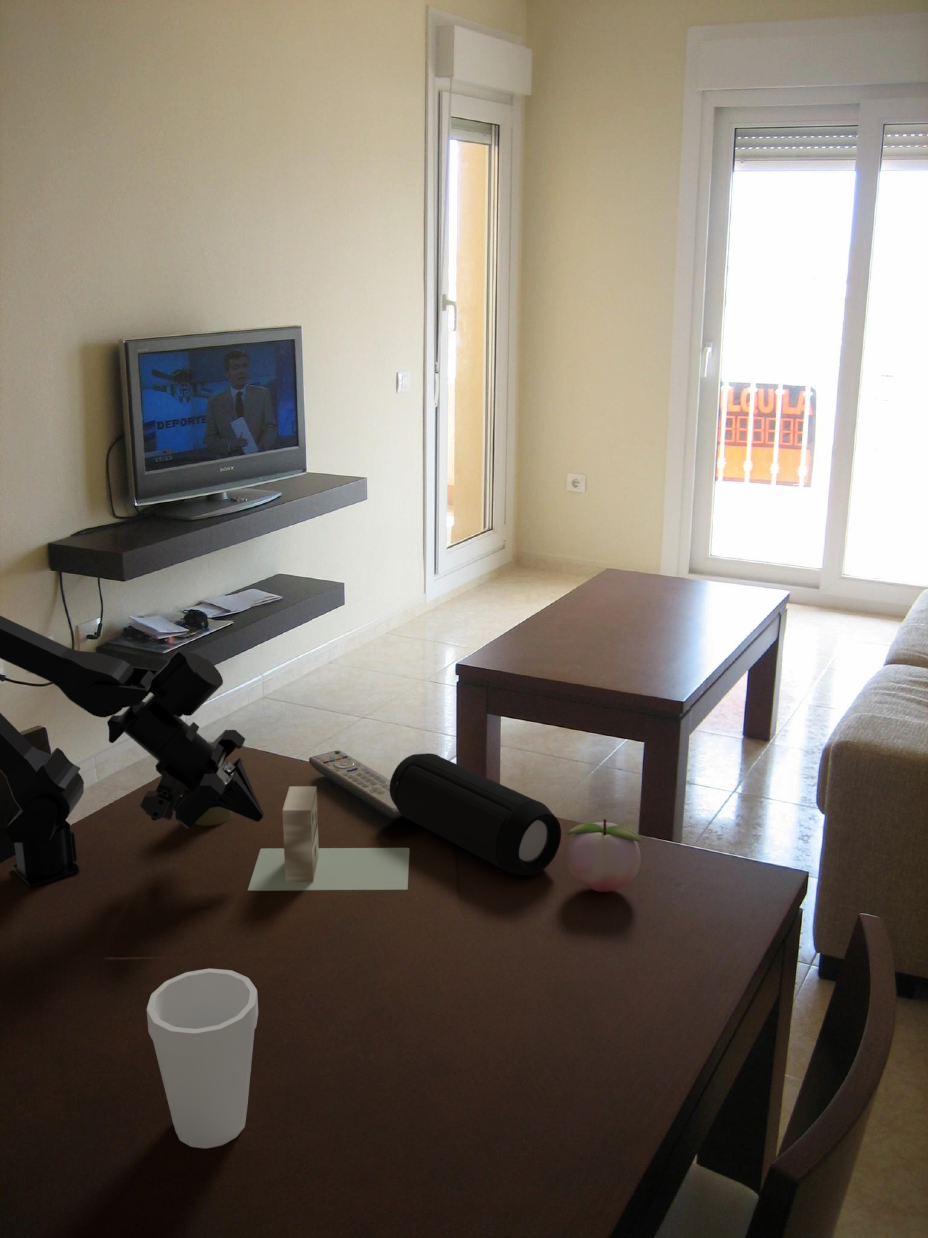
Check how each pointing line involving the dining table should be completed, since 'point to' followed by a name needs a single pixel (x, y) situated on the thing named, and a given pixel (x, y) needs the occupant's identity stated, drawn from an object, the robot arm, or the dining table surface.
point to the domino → (300, 834)
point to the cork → (215, 815)
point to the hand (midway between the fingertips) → (261, 818)
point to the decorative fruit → (603, 855)
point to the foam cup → (205, 1051)
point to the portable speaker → (476, 813)
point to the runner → (337, 870)
